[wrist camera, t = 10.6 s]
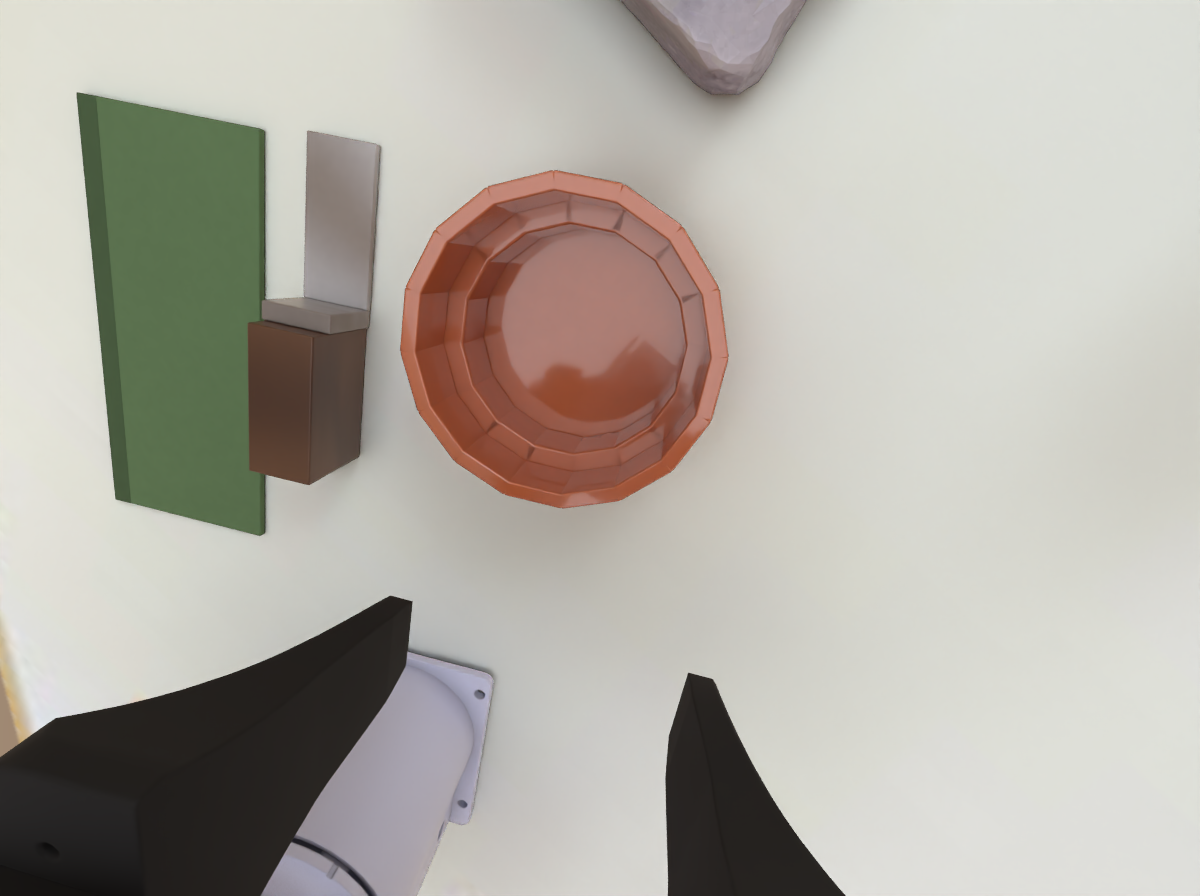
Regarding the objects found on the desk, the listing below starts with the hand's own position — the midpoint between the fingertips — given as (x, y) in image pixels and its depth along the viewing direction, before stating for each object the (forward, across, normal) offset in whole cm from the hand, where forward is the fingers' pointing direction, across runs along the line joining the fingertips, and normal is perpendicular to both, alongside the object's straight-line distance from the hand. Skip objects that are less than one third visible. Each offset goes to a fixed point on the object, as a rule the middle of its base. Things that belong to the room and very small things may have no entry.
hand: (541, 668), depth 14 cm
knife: (+9, +12, -6) cm, 16 cm away
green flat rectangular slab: (+9, +18, -4) cm, 21 cm away
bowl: (+9, +2, -7) cm, 12 cm away
